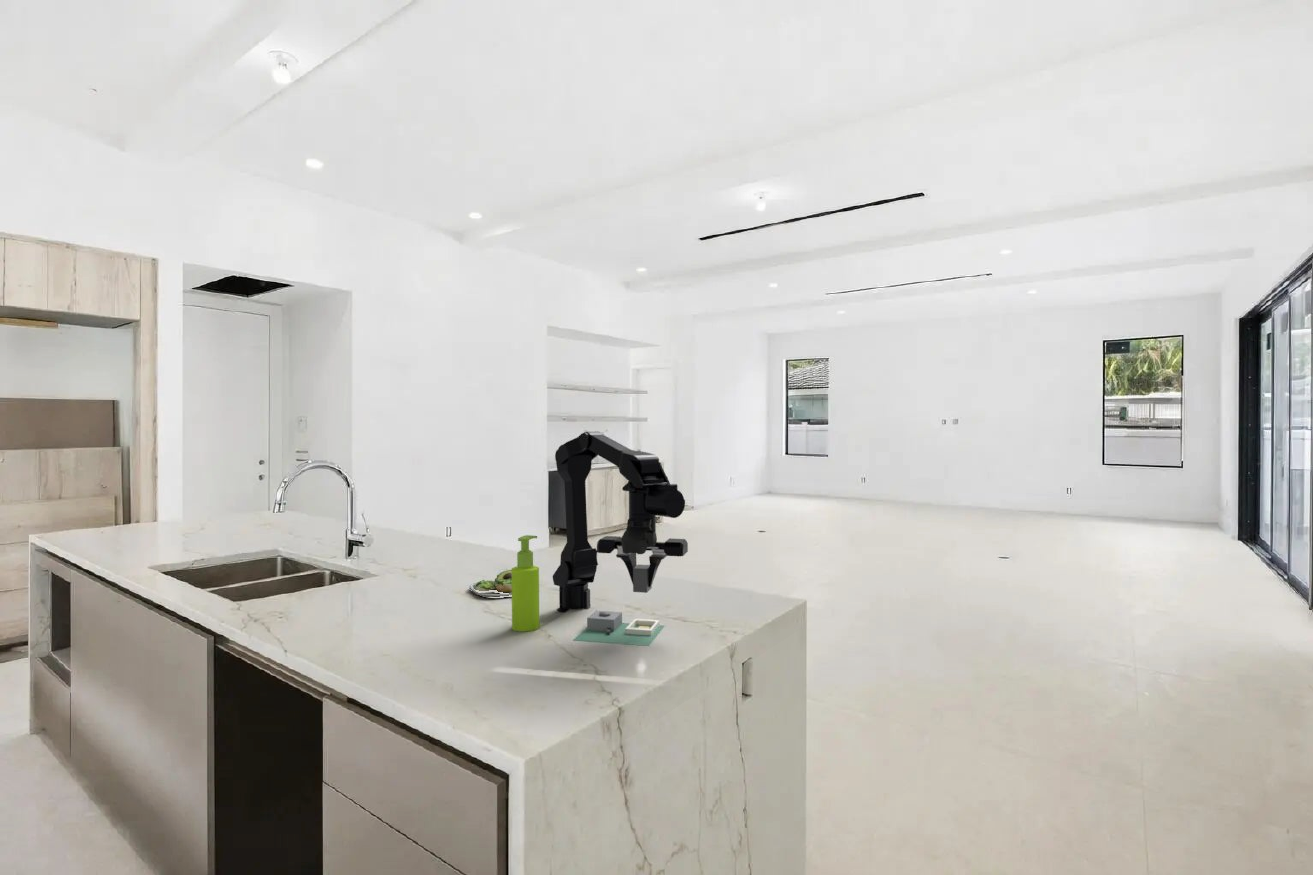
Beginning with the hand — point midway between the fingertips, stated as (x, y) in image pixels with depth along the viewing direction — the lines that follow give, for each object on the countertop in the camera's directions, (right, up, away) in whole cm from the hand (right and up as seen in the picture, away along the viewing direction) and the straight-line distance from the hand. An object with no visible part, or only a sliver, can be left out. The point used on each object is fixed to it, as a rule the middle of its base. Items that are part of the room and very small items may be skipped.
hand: (642, 586), depth 148 cm
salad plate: (-38, -10, +39) cm, 55 cm away
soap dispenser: (-26, -10, +5) cm, 28 cm away
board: (-5, -10, -2) cm, 11 cm away
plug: (0, -1, 0) cm, 1 cm away
